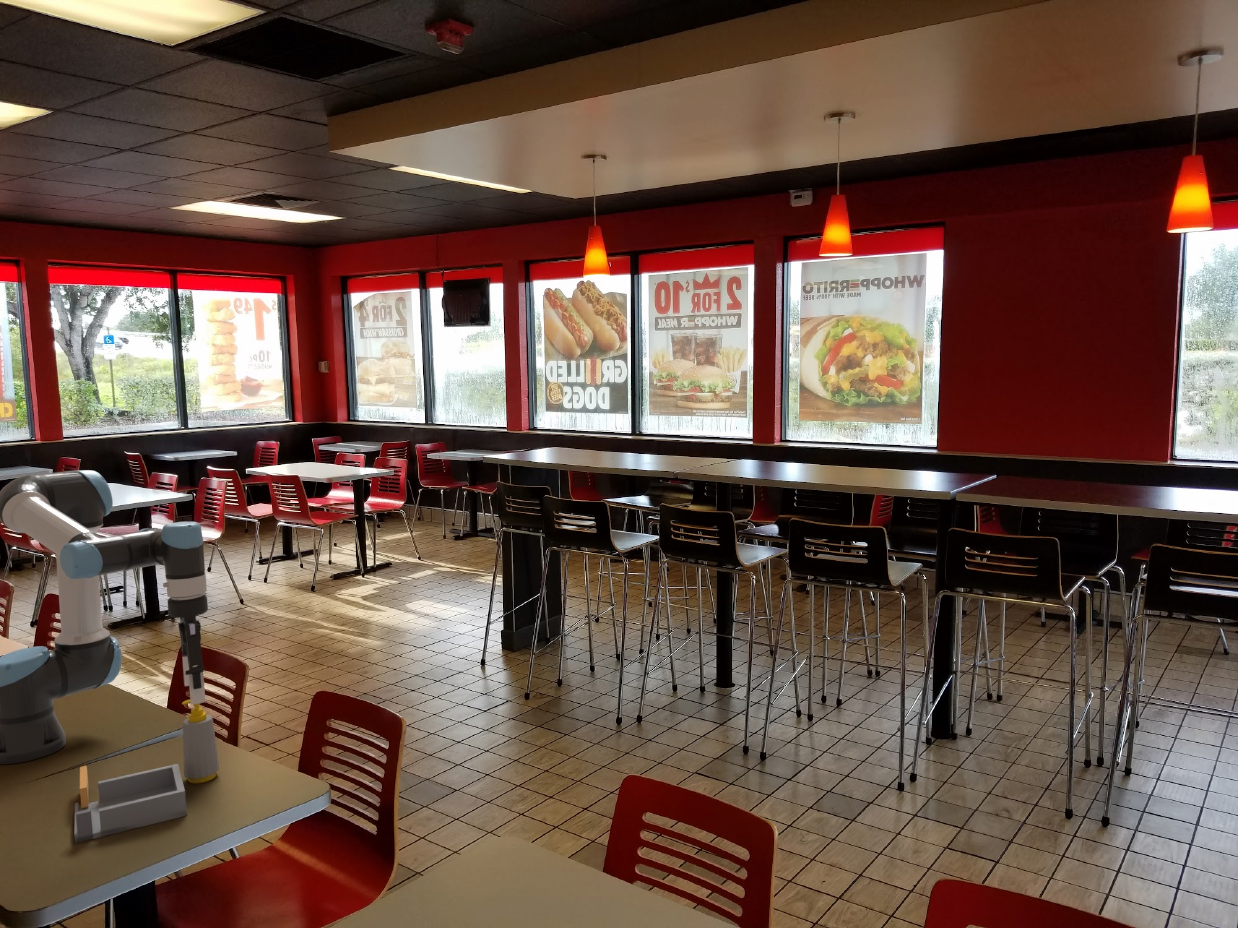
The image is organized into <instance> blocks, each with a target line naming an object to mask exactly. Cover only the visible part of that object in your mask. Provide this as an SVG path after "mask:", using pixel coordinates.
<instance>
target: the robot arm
mask: <svg viewBox="0 0 1238 928" xmlns="http://www.w3.org/2000/svg"><path fill="white" fill-rule="evenodd" d="M113 505H114V504H113V496H112V491H111V489H110V486H109V484H108V482H107V481H106V479H105V478H104V477H103V475H101V474H100V473H99V472H97V471H96V470H92V469H91V470H89V469H88V470H87V469H86V470H85V469H84V470H83V469H82V470H80V469H79V470H76V469H75V470H66V471H57V472H49V473H40V474H29V475H23V476H20V477H16V478H15V479H14V480H11V481H10V482H9V483H7V484H6V485H5V486H4V487H2V489H1V490H0V523H2V524H3V525H4V526H5V527H6V528H8V529H10V530H11V531H13V532H16V533H19V534H20V533H21V534H25V535H26V536H29V537H30V538H31V539H33V540H34V541H36V542H38V543H39V544H41V545H42V546H44V547H45V548H46V549H48V550H50V551H52V552H53V553H55V557H56V560H55V561H56V572H57V585H58V586H57V588H58V589H57V590H58V603H59V616H60V630H61V632H60V633H59V634H58V635H56V637H55V638H54V649H50V650H49V648H48V647H47V646H43V645H41V646H40V645H39V646H38V645H37V646H31V647H26V648H25V647H24V648H20V649H17V650H14V651H12V652H8V653H6V654H4V655H1V656H0V765H10V764H18V763H19V764H20V763H25V762H29V761H33V760H34V761H35V760H37V759H41V758H44V757H48V756H49V755H52V754H53V753H56V752H58V751H59V750H61V749H62V748H63V747H64V746H65V745H66V743H67V740H66V733H65V731H64V729H63V727H62V725H61V723H60V721H59V719H58V717H57V715H56V713H55V707H54V706H55V705H54V701H55V700H56V699H61V698H63V697H68V696H71V695H74V694H79V693H81V692H86V691H90V690H95V689H98V688H100V687H102V686H105V685H107V684H110V683H112V682H113V681H114V680H115V679H116V678H117V677H118V676H119V675H120V671H121V668H122V661H123V655H122V654H123V653H122V649H121V648H120V643H119V641H118V640H117V639H116V638H115V637H114V636H111V634H110V633H111V632H110V631H109V630H108V629H106V628H105V627H103V619H102V618H103V616H102V603H101V601H102V600H101V598H102V597H101V583H100V576H103V575H108V574H114V573H118V572H124V571H130V570H135V569H140V568H146V567H150V566H164V573H165V580H166V582H163V583H162V587H163V588H166V594H167V597H168V599H167V611H168V613H167V614H168V616H169V617H171V618H173V619H174V618H175V619H179V622H177V625H178V631H179V638H180V644H181V645H180V650H181V654H182V669H183V670H182V671H183V672H182V673H183V684H184V687H189V698H190V701H191V703H190V706H192V705H193V704H198V703H200V704H202V703H206V693H205V692H206V691H205V679H204V678H205V675H204V671H205V667H204V662H203V652H202V646H201V645H202V644H201V643H202V636H201V629H202V627H201V622H200V620H199V619H197V616H199V615H204V614H205V613H207V612H208V611H209V606H208V605H209V603H208V595H206V594H205V593H207V591H208V589H207V588H208V587H207V586H208V585H207V578H206V577H207V576H206V566H205V550H204V549H205V548H204V536H203V532H202V531H203V530H202V526H201V524H200V523H199V522H197V521H178V522H177V521H176V522H170V523H166V524H164V525H163V526H162V528H158V527H151V528H149V527H147V528H142V529H140V530H137V532H132V533H126V534H120V535H119V534H118V535H113V536H112V535H111V536H104V537H103V536H101V535H99V534H97V533H98V531H99V529H101V528H102V527H103V526H104V520H103V519H104V517H107V516H108V515H109V514H110V513H111V512H112V509H113ZM193 706H194V705H193Z"/></svg>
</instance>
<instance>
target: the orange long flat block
mask: <svg viewBox="0 0 1238 928" xmlns="http://www.w3.org/2000/svg"><path fill="white" fill-rule="evenodd" d="M88 778H89V776H88V766H87V765H84V766H80V767H79V794H80V805H81V808H85V807H89V803H90V802H89V779H88Z"/></svg>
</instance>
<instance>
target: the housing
mask: <svg viewBox="0 0 1238 928" xmlns="http://www.w3.org/2000/svg"><path fill="white" fill-rule="evenodd" d="M97 787H98V799H99V800H95V801H93V802H92V801H91V802H89V807H85V808H81V804H80V803H79V802H76V803H74V829H73V830H74V832H73V833H74V844H79V843H83V842H86V841H91V840H95V839H99V838H102V837H107V836H110V835H114V834H119V833H122V832H126V831H130V830H134V829H138V828H143V827H146V826H151V825H154V824H157V823H162V822H166V821H169V820H174V819H178V818H181V817H186V816H187V815H188V814H187V811H188V810H187V801H186V789H185V786H184V783H183V778H182V774H181V770H180V766H179V763H175V764H171V765H166V766H162V767H157V768H154V769H147V770H145V771H140V772H135V773H130V774H126V775H121V776H117V777H113V778H108V779H104V780H98V781H97Z"/></svg>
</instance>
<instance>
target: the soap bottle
mask: <svg viewBox="0 0 1238 928" xmlns="http://www.w3.org/2000/svg"><path fill="white" fill-rule="evenodd" d="M181 704H182V705H183V706H184V705H187V704H190V705H191V701H190V699H186V700H184V701H182V703H181ZM200 705H201V703H198V704H193V707H194V708H192V709H191V710H190V714H189V715H188V718H186V719H184V720H183V722H182V735H183V736H182V739H183V741H182V743H183V776H184V777H185V778H187V782H189V783H190V784H201V783H207V782H209V781H211V780H213V779H215V778H216V776H217V773H218V771H219V770H220V765H219V764H220V763H219V756H218V750H217V749H218V748H217V741H216V734H215V733H216V732H215V726H214V719H213V718H214V717H213V716H212V715H211V714H207V712H206V711H204V708H202V707H200Z"/></svg>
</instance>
